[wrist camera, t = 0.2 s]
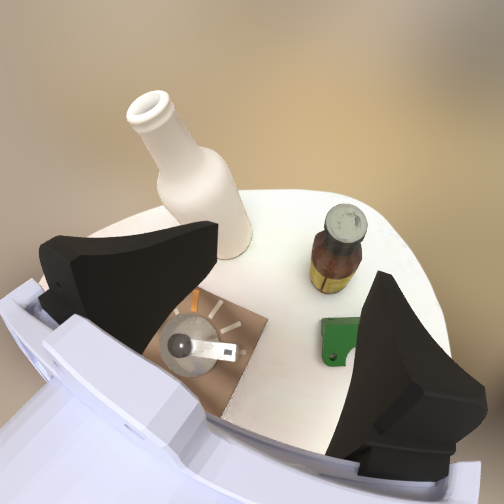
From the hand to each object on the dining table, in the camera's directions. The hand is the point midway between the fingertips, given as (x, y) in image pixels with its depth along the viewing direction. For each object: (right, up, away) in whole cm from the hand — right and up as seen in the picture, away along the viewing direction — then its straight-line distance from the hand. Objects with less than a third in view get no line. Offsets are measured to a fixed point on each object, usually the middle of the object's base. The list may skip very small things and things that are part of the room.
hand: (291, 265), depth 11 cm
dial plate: (-11, -14, +30) cm, 35 cm away
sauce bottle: (+10, -3, +31) cm, 32 cm away
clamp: (+14, -13, +27) cm, 33 cm away
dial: (-10, -14, +28) cm, 33 cm away
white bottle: (-6, +3, +35) cm, 36 cm away
